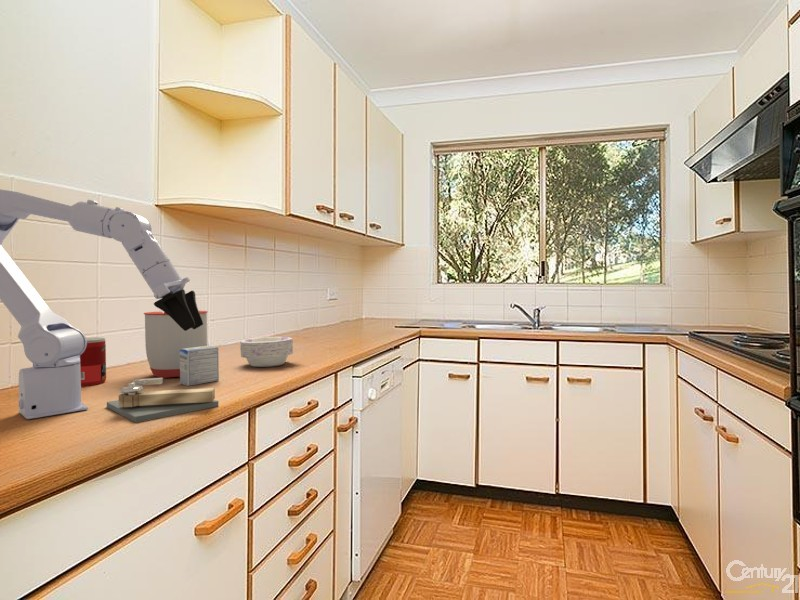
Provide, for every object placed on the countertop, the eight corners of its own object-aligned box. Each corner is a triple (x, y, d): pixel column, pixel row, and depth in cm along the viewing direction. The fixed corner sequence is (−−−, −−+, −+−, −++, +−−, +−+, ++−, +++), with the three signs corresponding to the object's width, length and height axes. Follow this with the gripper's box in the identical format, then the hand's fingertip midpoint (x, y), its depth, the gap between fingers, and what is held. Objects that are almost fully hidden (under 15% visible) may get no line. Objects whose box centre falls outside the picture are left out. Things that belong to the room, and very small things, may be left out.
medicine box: (210, 379, 121) (209, 345, 121) (219, 381, 118) (218, 346, 118) (179, 384, 115) (178, 348, 114) (188, 386, 112) (187, 350, 112)
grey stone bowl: (237, 363, 145) (236, 337, 145) (286, 359, 152) (286, 335, 152) (245, 371, 132) (244, 342, 132) (298, 366, 139) (298, 339, 138)
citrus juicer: (201, 366, 140) (200, 299, 139) (214, 375, 125) (213, 300, 124) (141, 372, 131) (140, 300, 130) (148, 382, 116) (146, 301, 116)
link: (116, 407, 86) (115, 396, 86) (123, 402, 90) (123, 392, 90) (211, 402, 90) (211, 391, 90) (215, 397, 94) (215, 387, 94)
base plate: (135, 422, 82) (135, 416, 82) (106, 407, 93) (106, 402, 93) (218, 406, 93) (218, 401, 93) (184, 393, 104) (184, 389, 104)
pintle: (124, 415, 86) (124, 386, 86) (118, 412, 89) (117, 383, 88) (145, 411, 89) (145, 382, 89) (139, 408, 91) (138, 380, 91)
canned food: (110, 383, 116) (109, 338, 116) (71, 388, 110) (70, 341, 110) (101, 379, 122) (100, 336, 121) (63, 383, 116) (62, 339, 115)
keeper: (162, 403, 95) (161, 379, 95) (133, 406, 93) (132, 380, 93) (163, 401, 97) (162, 377, 96) (134, 404, 95) (134, 379, 95)
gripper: (165, 253, 86) (206, 317, 87) (184, 261, 100) (218, 316, 101) (128, 273, 84) (170, 337, 85) (152, 278, 98) (188, 334, 100)
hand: (194, 327), depth 93 cm, fingers open, 7 cm apart
